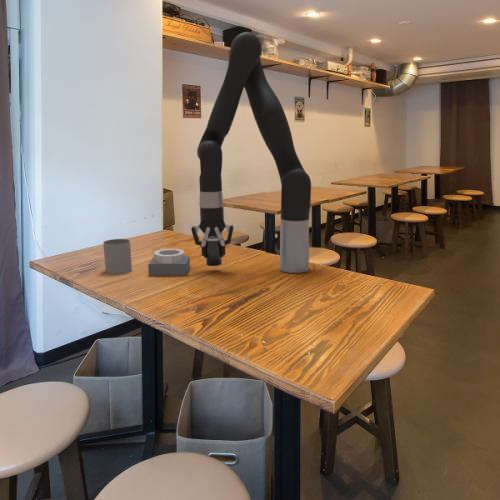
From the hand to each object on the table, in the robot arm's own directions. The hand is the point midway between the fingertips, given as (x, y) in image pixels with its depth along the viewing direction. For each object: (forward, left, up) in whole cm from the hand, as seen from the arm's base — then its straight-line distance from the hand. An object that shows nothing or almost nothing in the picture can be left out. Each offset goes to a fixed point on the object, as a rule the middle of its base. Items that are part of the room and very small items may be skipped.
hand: (213, 256), depth 141 cm
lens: (0, 0, -2) cm, 2 cm away
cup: (+31, -1, -5) cm, 32 cm away
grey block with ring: (+14, 0, -5) cm, 15 cm away
